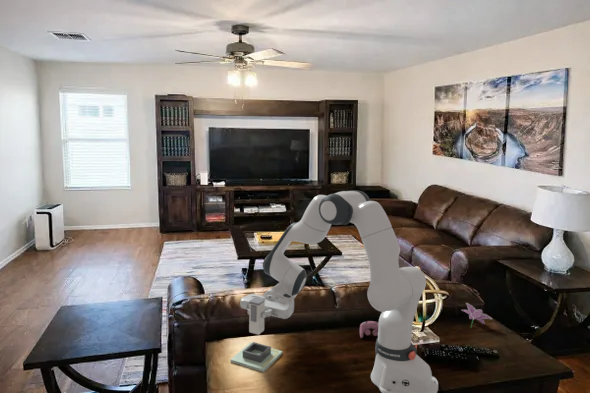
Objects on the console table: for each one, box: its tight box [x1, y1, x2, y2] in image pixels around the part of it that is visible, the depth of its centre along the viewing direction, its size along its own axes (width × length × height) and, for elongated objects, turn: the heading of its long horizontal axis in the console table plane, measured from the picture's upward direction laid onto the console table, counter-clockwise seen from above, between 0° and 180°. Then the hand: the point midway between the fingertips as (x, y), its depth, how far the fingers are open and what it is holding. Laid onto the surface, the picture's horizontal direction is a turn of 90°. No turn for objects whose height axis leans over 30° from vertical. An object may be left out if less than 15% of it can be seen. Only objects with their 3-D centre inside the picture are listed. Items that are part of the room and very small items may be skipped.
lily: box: [461, 302, 493, 328], centre depth 200 cm, size 12×12×10 cm
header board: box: [230, 341, 283, 373], centre depth 171 cm, size 14×14×4 cm
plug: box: [248, 297, 265, 335], centre depth 168 cm, size 4×5×12 cm
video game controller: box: [359, 320, 379, 339], centre depth 189 cm, size 10×5×7 cm, turn 85°
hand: (255, 314), depth 168 cm, fingers closed on plug, 4 cm apart
